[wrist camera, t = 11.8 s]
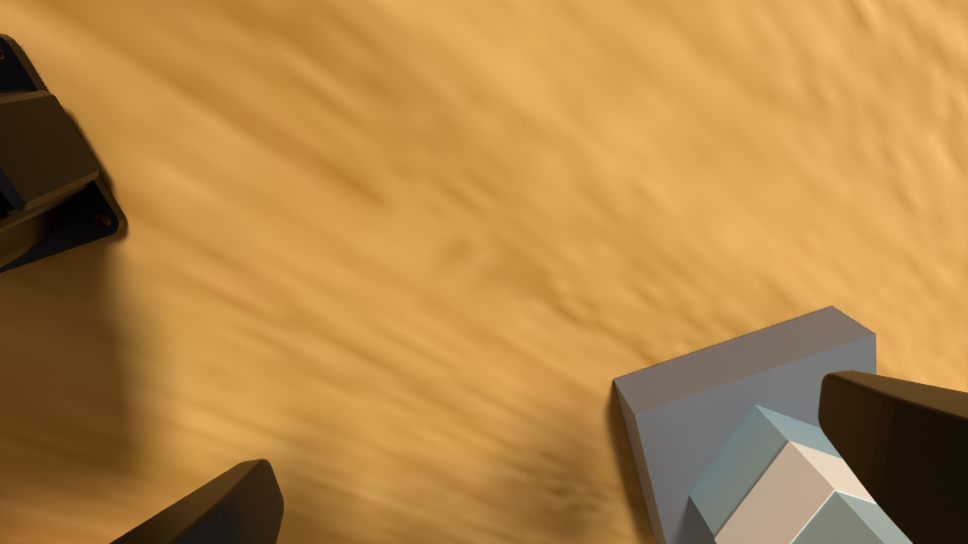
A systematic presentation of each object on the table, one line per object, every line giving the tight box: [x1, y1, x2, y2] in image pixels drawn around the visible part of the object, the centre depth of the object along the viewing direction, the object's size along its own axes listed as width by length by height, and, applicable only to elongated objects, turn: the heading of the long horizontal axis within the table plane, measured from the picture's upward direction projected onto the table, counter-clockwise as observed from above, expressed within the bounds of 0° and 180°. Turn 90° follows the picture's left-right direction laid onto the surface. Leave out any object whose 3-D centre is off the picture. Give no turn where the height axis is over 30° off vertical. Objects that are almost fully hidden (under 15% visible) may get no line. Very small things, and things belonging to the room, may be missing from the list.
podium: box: [614, 306, 876, 544], centre depth 25 cm, size 10×10×2 cm
